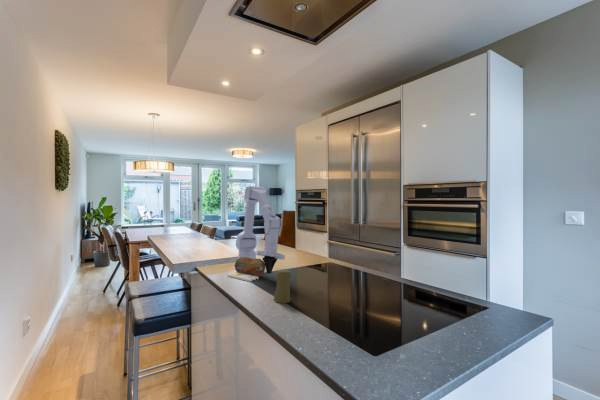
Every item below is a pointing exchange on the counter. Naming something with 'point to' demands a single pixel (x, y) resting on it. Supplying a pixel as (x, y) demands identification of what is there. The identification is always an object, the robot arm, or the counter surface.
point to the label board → (243, 276)
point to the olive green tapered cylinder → (283, 287)
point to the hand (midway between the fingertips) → (269, 273)
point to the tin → (250, 266)
